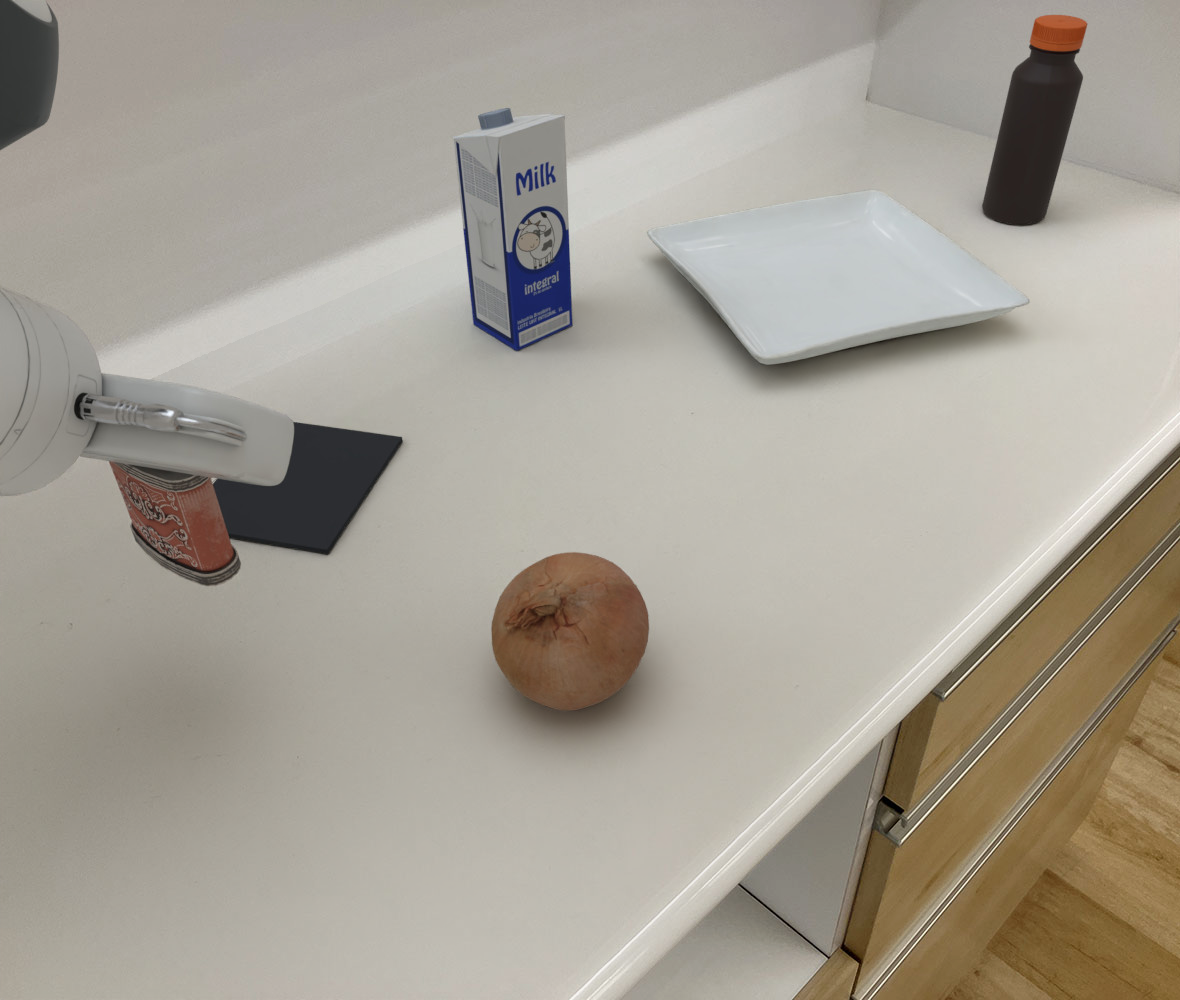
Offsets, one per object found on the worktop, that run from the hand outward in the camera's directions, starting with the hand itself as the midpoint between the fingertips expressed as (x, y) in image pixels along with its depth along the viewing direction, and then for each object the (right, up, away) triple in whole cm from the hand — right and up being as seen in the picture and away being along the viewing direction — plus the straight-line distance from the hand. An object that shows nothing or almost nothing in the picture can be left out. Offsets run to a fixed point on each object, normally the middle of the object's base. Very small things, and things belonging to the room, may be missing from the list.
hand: (173, 442), depth 59 cm
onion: (+22, -15, +7) cm, 27 cm away
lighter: (0, -6, +2) cm, 7 cm away
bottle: (+70, +28, +57) cm, 95 cm away
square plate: (+46, +17, +44) cm, 66 cm away
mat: (+1, -2, +23) cm, 23 cm away
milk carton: (+17, +13, +41) cm, 46 cm away
